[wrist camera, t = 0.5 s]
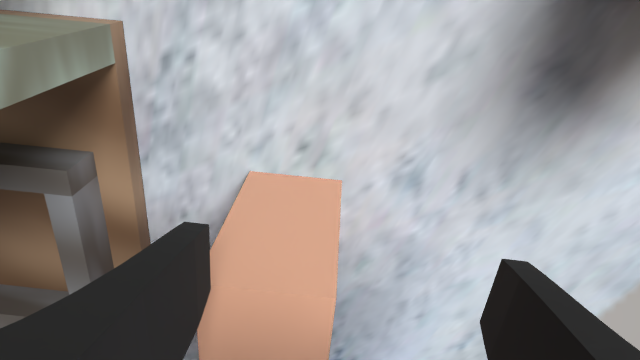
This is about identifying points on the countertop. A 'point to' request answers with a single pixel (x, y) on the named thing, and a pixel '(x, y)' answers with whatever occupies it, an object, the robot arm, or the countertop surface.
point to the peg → (274, 272)
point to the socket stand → (64, 159)
